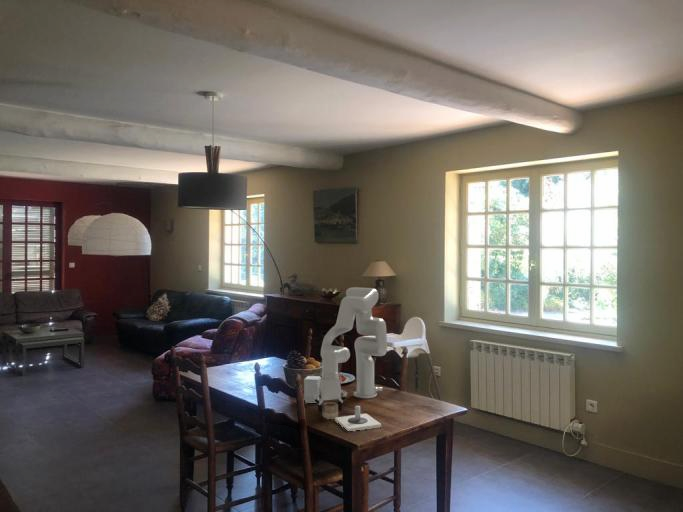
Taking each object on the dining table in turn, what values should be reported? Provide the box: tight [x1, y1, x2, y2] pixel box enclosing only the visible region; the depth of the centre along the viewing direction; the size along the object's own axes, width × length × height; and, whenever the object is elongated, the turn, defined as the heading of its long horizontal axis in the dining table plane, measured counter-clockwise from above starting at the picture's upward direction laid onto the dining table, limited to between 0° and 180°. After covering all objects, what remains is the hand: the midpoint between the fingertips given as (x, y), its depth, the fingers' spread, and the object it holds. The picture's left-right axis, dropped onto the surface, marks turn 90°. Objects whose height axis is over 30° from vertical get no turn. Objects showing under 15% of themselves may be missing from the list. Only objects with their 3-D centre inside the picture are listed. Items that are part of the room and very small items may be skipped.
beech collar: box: [321, 401, 339, 420], centre depth 258 cm, size 7×7×6 cm
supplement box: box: [303, 375, 321, 404], centre depth 282 cm, size 7×7×13 cm
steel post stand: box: [334, 405, 382, 432], centre depth 248 cm, size 16×16×8 cm
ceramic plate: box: [338, 372, 356, 385], centre depth 324 cm, size 26×26×3 cm
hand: (329, 411), depth 258 cm, fingers open, 9 cm apart
